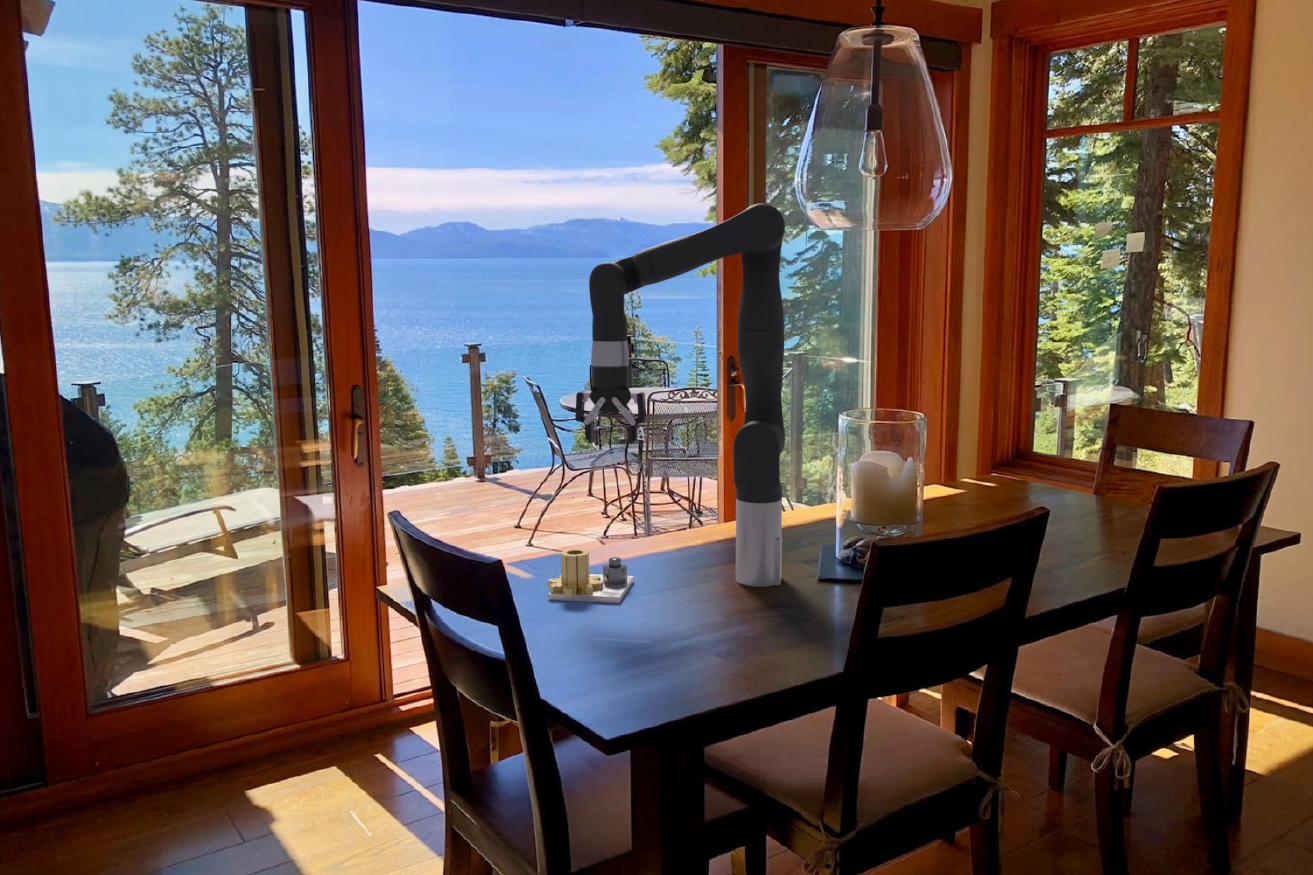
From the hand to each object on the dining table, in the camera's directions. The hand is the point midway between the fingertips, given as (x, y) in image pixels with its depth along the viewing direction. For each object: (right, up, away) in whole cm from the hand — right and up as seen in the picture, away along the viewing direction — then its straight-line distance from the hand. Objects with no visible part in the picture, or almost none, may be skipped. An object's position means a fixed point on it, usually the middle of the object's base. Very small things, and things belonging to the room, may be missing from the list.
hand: (611, 442), depth 197 cm
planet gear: (-7, -28, -7) cm, 30 cm away
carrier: (-4, -29, -5) cm, 30 cm away
